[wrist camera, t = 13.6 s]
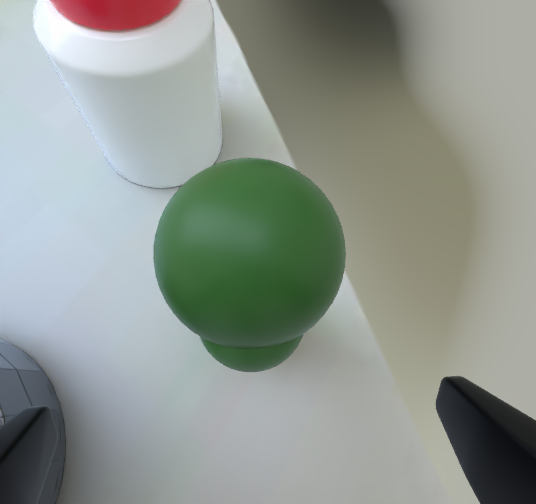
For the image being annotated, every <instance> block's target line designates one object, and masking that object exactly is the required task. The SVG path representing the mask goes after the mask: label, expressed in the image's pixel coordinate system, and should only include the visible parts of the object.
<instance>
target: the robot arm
mask: <svg viewBox="0 0 536 504" xmlns="http://www.w3.org/2000/svg"><path fill="white" fill-rule="evenodd" d="M436 410H437V413H438V415H439V418H440V419H441V422H442V424H443V427H444V429H445V431H446V433H447V435H448V438H449V440H450V442H451V444H452V447H453V449H454V451H455V454H456V456H457V458H458V460H459V463H460V465H461V467H462V469H463V471H464V474H465V476H466V478H467V480H468V482H469V483H470V485H471V487H472V489H473V491H474V493H475V495H476V496H477V498H478V500H479V502H480V504H536V420H534V419H532V418H531V417H529V416H527V415H526V414H524V413H522V412H521V411H519V410H517V409H516V408H514V407H512V406H511V405H509V404H507V403H505V402H504V401H502V400H501V399H499V398H497V397H496V396H494V395H492V394H490V393H489V392H487V391H485V390H484V389H482V388H480V387H479V386H477V385H475V384H474V383H472V382H470V381H469V380H467V379H465V378H464V377H461V376H451V377H444V378H443V379H442V381H441V384H440V388H439V392H438V395H437V399H436ZM57 441H58V431H57V428H56V425H55V422H54V419H53V416H52V412H51V410H50V408H49V407H48V406H32V407H27V408H25V409H23V410H22V411H20V412H19V413H18V414H16V415H15V416H14V417H12V418H11V419H10V420H9V421H7V422H6V423H5V424H3V425H2V426H1V427H0V504H37V503H38V500H39V497H40V494H41V491H42V488H43V485H44V482H45V479H46V476H47V473H48V470H49V466H50V463H51V460H52V457H53V454H54V451H55V448H56V445H57Z"/></svg>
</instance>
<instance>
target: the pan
mask: <svg viewBox="0 0 536 504" xmlns="http://www.w3.org/2000/svg"><path fill="white" fill-rule="evenodd" d="M32 406H48V407H49V408H50V410H51V412H52V416H53V419H54V422H55V425H56V428H57V431H58V441H57V445H56V448H55V451H54V454H53V457H52V460H51V463H50V466H49V470H48V473H47V476H46V479H45V482H44V485H43V488H42V491H41V494H40V497H39V500H38V503H37V504H56V500H57V496H58V492H59V489H60V485H61V481H62V474H63V468H64V461H65V430H64V420H63V416H62V412H61V407H60V403H59V401H58V398H57V396H56V393H55V391H54V388H53V386H52V384H51V383H50V381H49V379H48V378H47V376H46V374H45V373H44V372H43V370H42V369H41V368H40V367H39V366H38V364H37V363H36V362H35V361H34V360H33V359H32V358H31V357H29V356H28V355H27V354H26V353H25V352H24V351H22V350H21V349H19V348H17V347H16V346H14V345H12V344H11V343H9V342H6V341H4V340H1V339H0V427H1V426H2V425H3V424H5V423H6V422H7V421H9V420H10V419H11V418H12V417H14V416H15V415H16V414H18V413H19V412H20V411H22V410H23V409H25V408H27V407H32Z"/></svg>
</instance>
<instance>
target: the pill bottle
mask: <svg viewBox="0 0 536 504" xmlns="http://www.w3.org/2000/svg"><path fill="white" fill-rule="evenodd" d="M32 18H33V27H34V31H35V34H36V36H37V38H38V40H39V43H40V45H41V47H42V48H43V50H44V52H45V54H46V55H47V57H48V59H49V60H50V62H51V64H52V66H53V67H54V69H55V71H56V72H57V74H58V76H59V78H60V79H61V81H62V83H63V84H64V86H65V88H66V89H67V91H68V93H69V95H70V96H71V98H72V100H73V101H74V103H75V105H76V107H77V108H78V110H79V112H80V113H81V115H82V117H83V119H84V120H85V122H86V124H87V125H88V127H89V129H90V131H91V132H92V134H93V136H94V137H95V139H96V141H97V143H98V144H99V146H100V148H101V149H102V151H103V153H104V155H105V156H106V158H107V160H108V161H109V163H110V164H111V166H112V167H113V168H114V169H115V171H116V172H118V173H119V174H120V175H121V176H123V177H124V178H125V179H127V180H129V181H131V182H133V183H135V184H139V185H142V186H145V187H153V188H170V187H175V186H179V185H183V184H185V183H186V182H187V181H188V180H189V179H190V178H192V177H193V176H194V175H196V174H197V173H199V172H201V171H203V170H204V169H206V168H208V167H211V166H212V165H213V164H214V163H215V161H216V160H217V158H218V156H219V153H220V151H221V147H222V141H223V139H222V124H221V110H220V96H219V82H218V67H217V53H216V39H215V24H214V12H213V7H212V4H211V1H210V0H36V1H35V5H34V10H33V15H32Z"/></svg>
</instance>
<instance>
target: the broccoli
mask: <svg viewBox="0 0 536 504" xmlns="http://www.w3.org/2000/svg"><path fill="white" fill-rule="evenodd" d="M345 255H346V252H345V241H344V235H343V230H342V226H341V223H340V221H339V218H338V216H337V214H336V212H335V210H334V208H333V206H332V204H331V203H330V201H329V200H328V198H327V197H326V196H325V194H324V193H323V192H322V191H321V189H320V188H319V187H318V186H317V185H315V184H314V183H313V182H312V181H311V180H310V179H309V178H307V177H306V176H304V175H303V174H301V173H300V172H298V171H296V170H295V169H293V168H291V167H289V166H286V165H284V164H281V163H278V162H275V161H271V160H266V159H259V158H241V159H234V160H228V161H225V162H221V163H218V164H216V165H213V166H211V167H208V168H206V169H204V170H203V171H201V172H199V173H197V174H196V175H194V176H193V177H192V178H190V179H189V180H188V181H187V182H186V183H185V184H183V185H182V186H181V187H180V188H179V190H178V191H177V192H176V193H175V194H174V196H173V197H172V198H171V199H170V201H169V203H168V204H167V206H166V207H165V209H164V211H163V214H162V216H161V218H160V221H159V224H158V227H157V231H156V234H155V240H154V267H155V274H156V278H157V281H158V285H159V288H160V290H161V292H162V294H163V296H164V299H165V300H166V302H167V304H168V305H169V307H170V308H171V310H172V311H173V313H174V314H175V315H176V316H177V317H178V319H179V320H180V321H181V322H182V323H183V324H184V325H185V326H187V327H188V328H189V329H190V330H191V331H193V332H194V333H196V334H198V335H199V336H200V338H201V340H202V342H203V344H204V346H205V347H206V349H207V350H208V352H209V353H210V354H211V355H212V356H213V357H214V358H215V359H216V360H217V361H219V362H220V363H222V364H223V365H225V366H227V367H229V368H231V369H235V370H238V371H243V372H258V371H264V370H267V369H270V368H273V367H275V366H277V365H278V364H280V363H282V362H283V361H284V360H286V359H287V358H288V357H289V356H290V355H291V354H292V353H293V351H294V350H295V349H296V347H297V346H298V344H299V342H300V340H301V338H302V336H303V333H305V332H306V331H307V330H309V329H310V328H311V327H312V326H314V325H315V324H316V323H317V322H318V321H319V320H320V319H321V317H322V316H323V315H324V314H325V312H326V311H327V310H328V308H329V307H330V305H331V304H332V302H333V300H334V299H335V297H336V295H337V293H338V290H339V287H340V284H341V282H342V278H343V273H344V268H345Z"/></svg>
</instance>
